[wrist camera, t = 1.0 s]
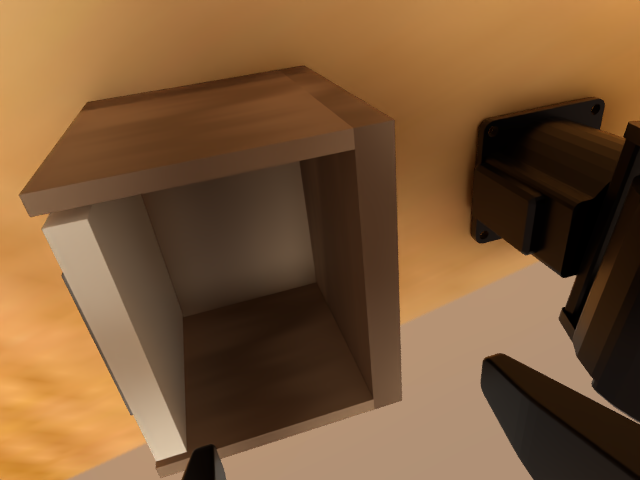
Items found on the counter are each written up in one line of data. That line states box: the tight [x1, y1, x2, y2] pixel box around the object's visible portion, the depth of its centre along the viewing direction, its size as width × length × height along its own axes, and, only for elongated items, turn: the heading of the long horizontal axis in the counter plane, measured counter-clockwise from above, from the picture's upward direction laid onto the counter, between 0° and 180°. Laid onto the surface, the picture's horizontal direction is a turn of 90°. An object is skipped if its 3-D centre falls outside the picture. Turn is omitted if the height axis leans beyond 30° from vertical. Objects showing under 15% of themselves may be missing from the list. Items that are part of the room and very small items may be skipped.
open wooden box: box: [19, 66, 402, 478], centre depth 16 cm, size 8×10×8 cm
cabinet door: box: [42, 194, 187, 461], centre depth 14 cm, size 1×8×7 cm, turn 7°
